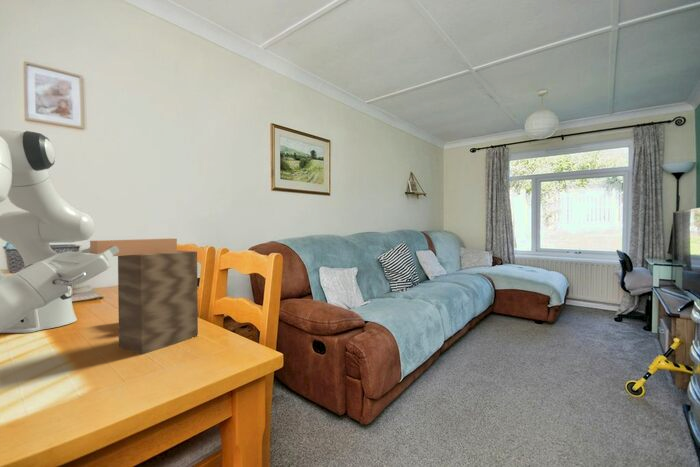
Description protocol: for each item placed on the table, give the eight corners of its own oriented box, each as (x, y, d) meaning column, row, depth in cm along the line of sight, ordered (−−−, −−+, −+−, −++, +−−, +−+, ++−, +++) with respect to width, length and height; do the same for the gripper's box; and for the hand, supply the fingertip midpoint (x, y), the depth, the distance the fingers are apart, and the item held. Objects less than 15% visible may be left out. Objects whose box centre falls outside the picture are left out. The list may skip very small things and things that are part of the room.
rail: (97, 257, 77) (97, 241, 77) (90, 256, 79) (90, 240, 79) (176, 251, 95) (176, 238, 95) (169, 251, 97) (169, 238, 97)
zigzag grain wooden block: (142, 354, 83) (140, 255, 82) (118, 345, 89) (117, 253, 88) (197, 336, 97) (197, 251, 96) (174, 329, 103) (173, 250, 102)
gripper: (55, 273, 64) (120, 238, 74) (19, 267, 74) (82, 236, 84) (74, 297, 67) (135, 259, 77) (38, 288, 77) (96, 255, 87)
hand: (107, 247), depth 81 cm, fingers open, 8 cm apart
